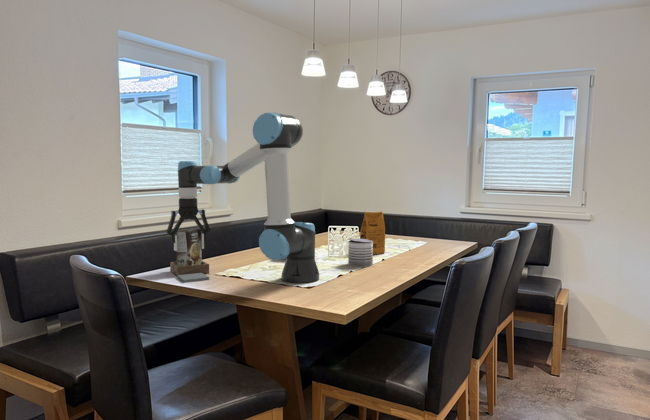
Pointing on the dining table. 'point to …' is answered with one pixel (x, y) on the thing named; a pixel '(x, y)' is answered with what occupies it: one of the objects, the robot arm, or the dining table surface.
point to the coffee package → (374, 231)
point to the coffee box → (189, 247)
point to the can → (360, 252)
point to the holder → (189, 268)
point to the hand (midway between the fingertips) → (189, 249)
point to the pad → (193, 277)
